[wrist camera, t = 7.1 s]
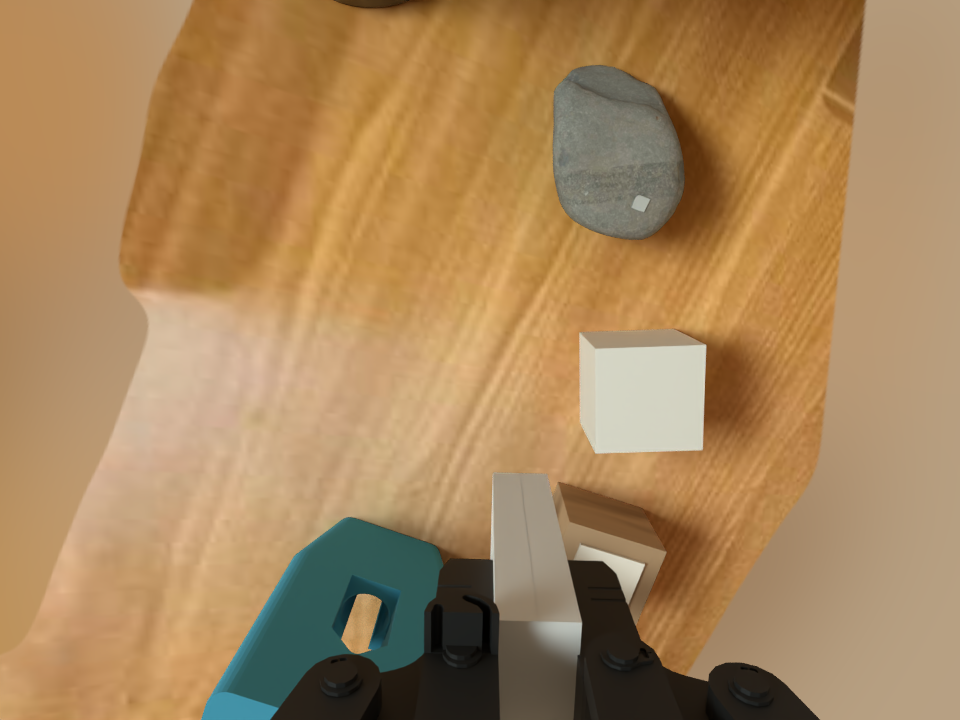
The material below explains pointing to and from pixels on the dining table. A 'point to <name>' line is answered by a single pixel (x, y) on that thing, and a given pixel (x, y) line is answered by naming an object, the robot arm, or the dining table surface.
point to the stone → (615, 153)
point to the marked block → (611, 539)
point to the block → (330, 615)
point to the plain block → (642, 390)
